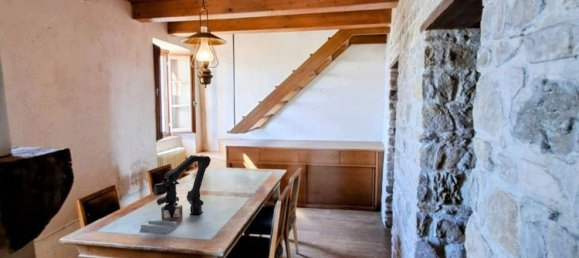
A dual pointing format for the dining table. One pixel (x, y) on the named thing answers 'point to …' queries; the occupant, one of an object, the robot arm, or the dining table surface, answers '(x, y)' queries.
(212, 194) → the dining table surface
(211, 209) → the dining table surface
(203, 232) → the dining table surface
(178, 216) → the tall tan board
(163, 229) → the display stand
